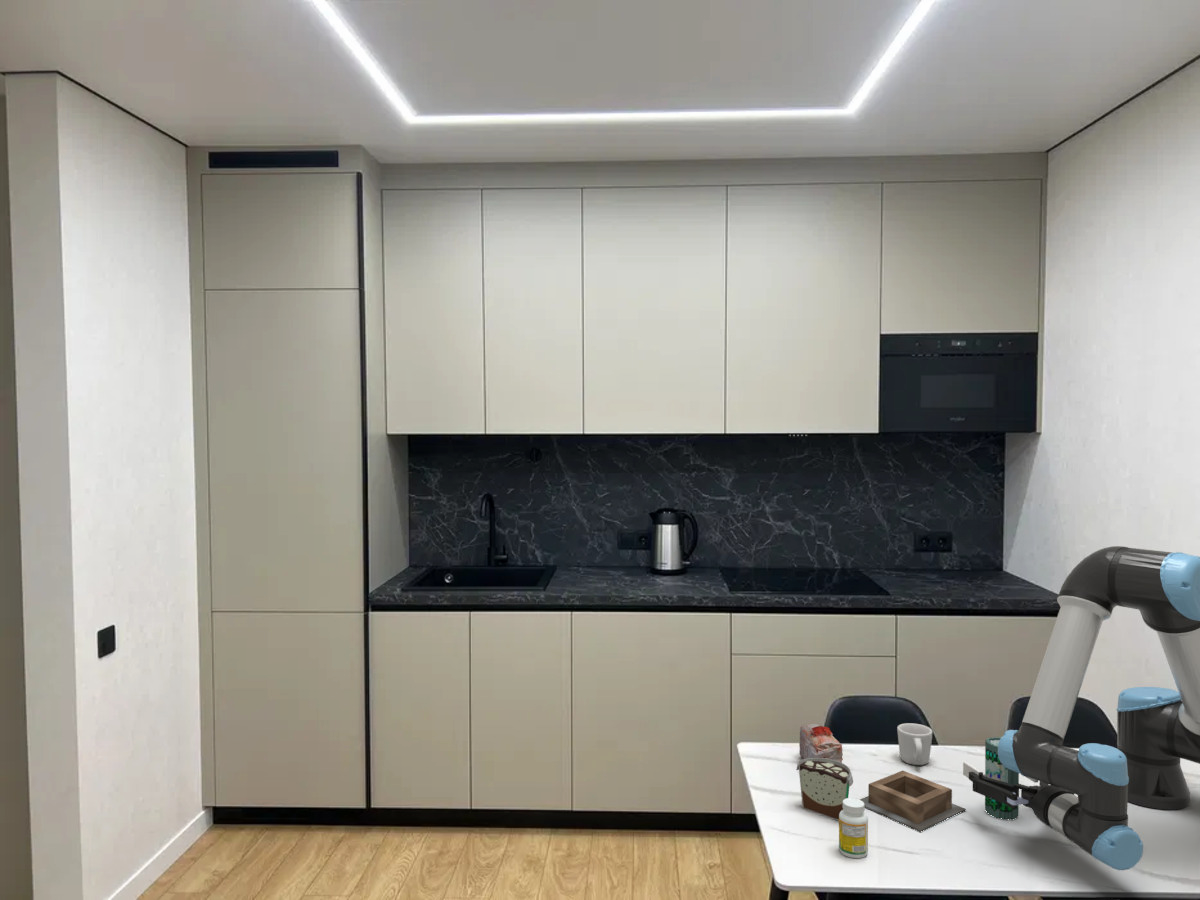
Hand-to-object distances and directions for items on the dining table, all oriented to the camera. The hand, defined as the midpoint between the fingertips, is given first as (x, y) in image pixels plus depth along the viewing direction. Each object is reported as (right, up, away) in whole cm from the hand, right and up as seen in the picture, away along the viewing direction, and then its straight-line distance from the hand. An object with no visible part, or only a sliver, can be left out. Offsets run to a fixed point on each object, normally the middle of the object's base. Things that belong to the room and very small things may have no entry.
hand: (990, 765), depth 181 cm
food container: (-35, -9, -2) cm, 36 cm away
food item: (-31, -8, +21) cm, 38 cm away
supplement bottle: (-35, -10, -19) cm, 41 cm away
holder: (-17, -9, 0) cm, 19 cm away
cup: (-8, -8, +22) cm, 25 cm away
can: (+1, -9, -3) cm, 10 cm away
